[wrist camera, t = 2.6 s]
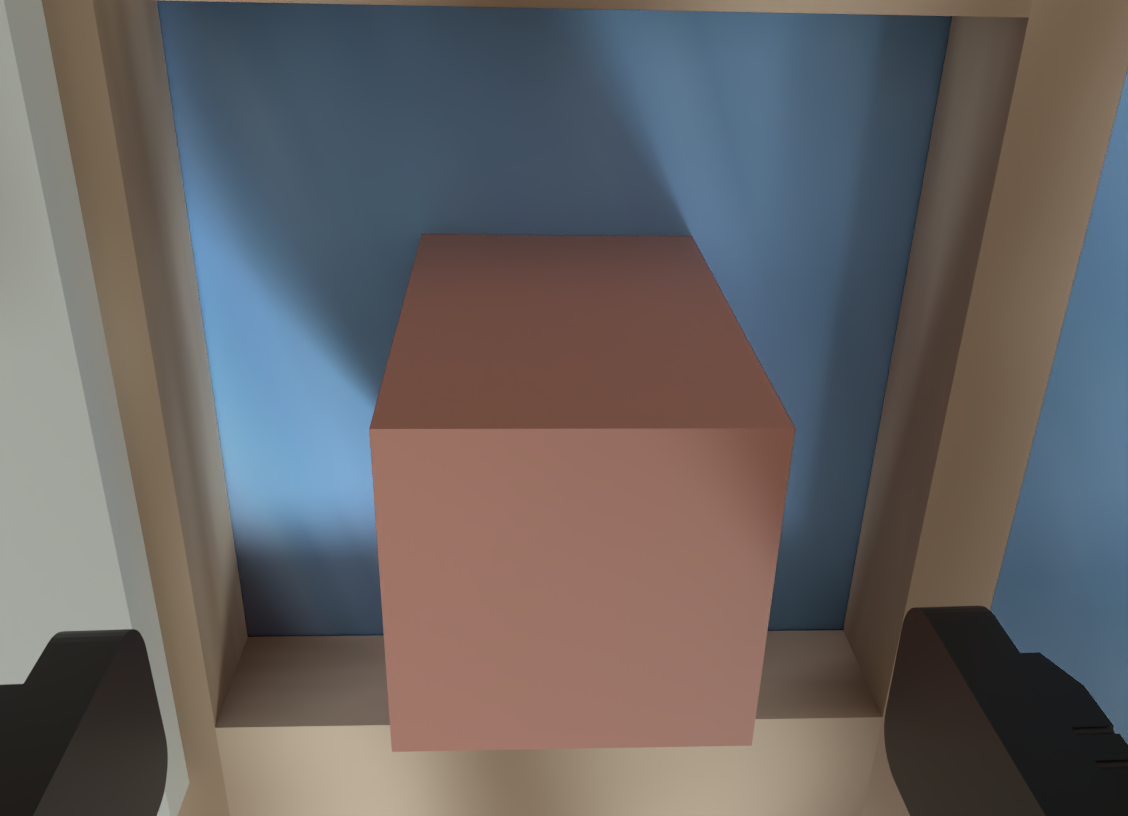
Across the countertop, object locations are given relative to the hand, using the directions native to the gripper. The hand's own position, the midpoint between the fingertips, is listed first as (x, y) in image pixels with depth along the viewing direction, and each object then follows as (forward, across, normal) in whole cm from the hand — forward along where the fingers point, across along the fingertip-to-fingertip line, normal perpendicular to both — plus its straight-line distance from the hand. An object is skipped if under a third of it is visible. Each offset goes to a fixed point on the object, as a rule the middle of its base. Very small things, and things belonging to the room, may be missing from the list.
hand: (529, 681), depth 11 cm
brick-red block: (+8, -1, 0) cm, 8 cm away
